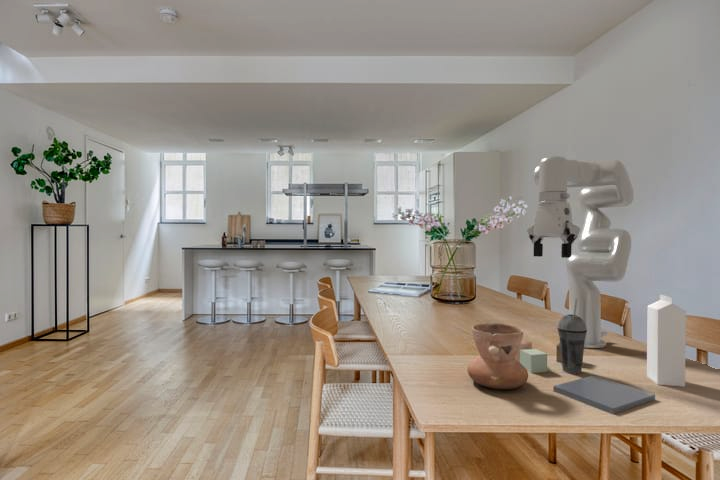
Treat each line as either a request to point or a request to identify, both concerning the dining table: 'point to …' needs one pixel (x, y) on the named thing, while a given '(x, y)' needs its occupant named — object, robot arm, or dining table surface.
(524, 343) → the peach rounded capsule
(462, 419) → the dining table surface
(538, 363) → the sage block
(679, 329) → the milk
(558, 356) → the walnut block
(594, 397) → the slate board
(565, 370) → the beverage cup
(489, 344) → the ceramic jug
